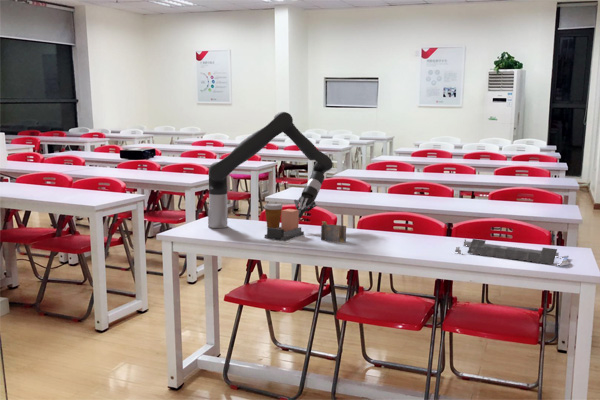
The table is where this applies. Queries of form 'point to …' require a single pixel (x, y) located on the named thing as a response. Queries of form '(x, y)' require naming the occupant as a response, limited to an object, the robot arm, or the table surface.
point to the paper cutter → (513, 252)
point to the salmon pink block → (289, 219)
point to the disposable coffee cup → (273, 214)
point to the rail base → (283, 233)
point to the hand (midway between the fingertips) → (298, 216)
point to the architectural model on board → (333, 232)
